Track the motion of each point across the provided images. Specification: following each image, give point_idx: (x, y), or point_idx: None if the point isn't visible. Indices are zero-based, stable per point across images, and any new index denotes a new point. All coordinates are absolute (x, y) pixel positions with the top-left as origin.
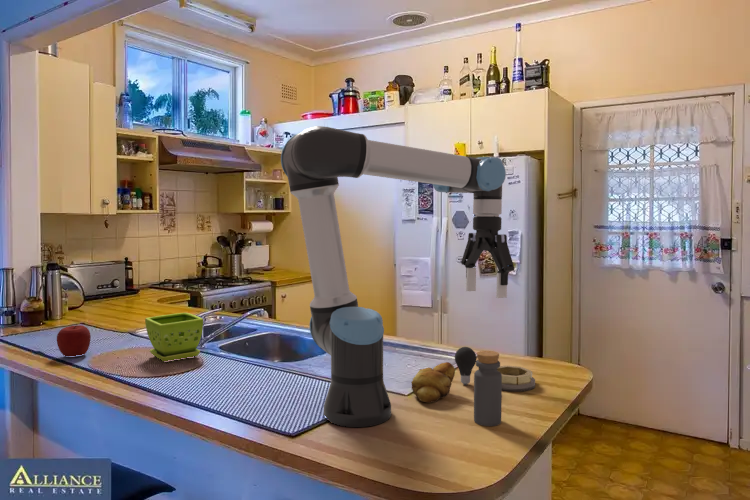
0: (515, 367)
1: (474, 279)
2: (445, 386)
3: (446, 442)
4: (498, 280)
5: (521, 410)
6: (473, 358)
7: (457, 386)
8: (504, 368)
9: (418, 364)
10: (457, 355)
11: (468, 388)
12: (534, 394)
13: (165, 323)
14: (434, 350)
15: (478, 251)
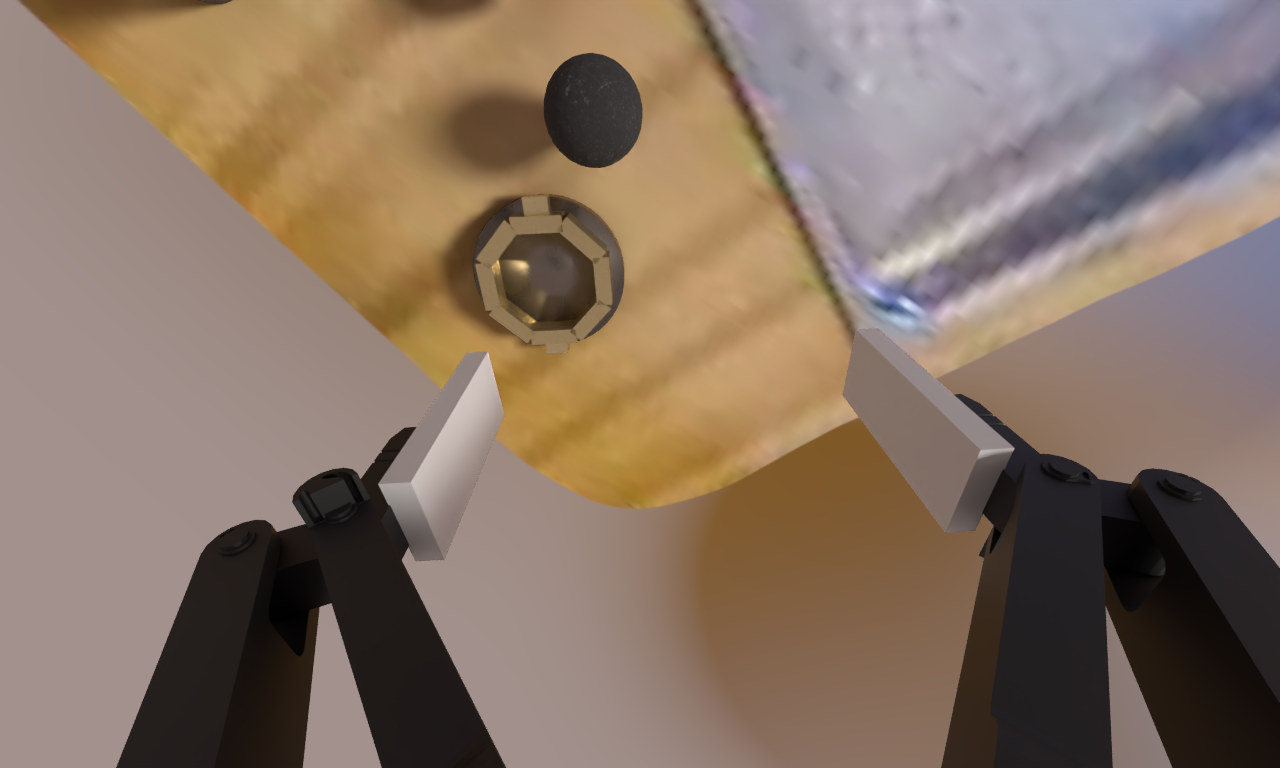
0: (580, 321)
1: (887, 437)
2: None
3: None
4: (416, 432)
5: (308, 146)
6: (547, 128)
7: None
8: (596, 289)
9: (920, 68)
10: (583, 55)
11: None
12: (447, 278)
13: None
14: (1027, 247)
15: (965, 739)
